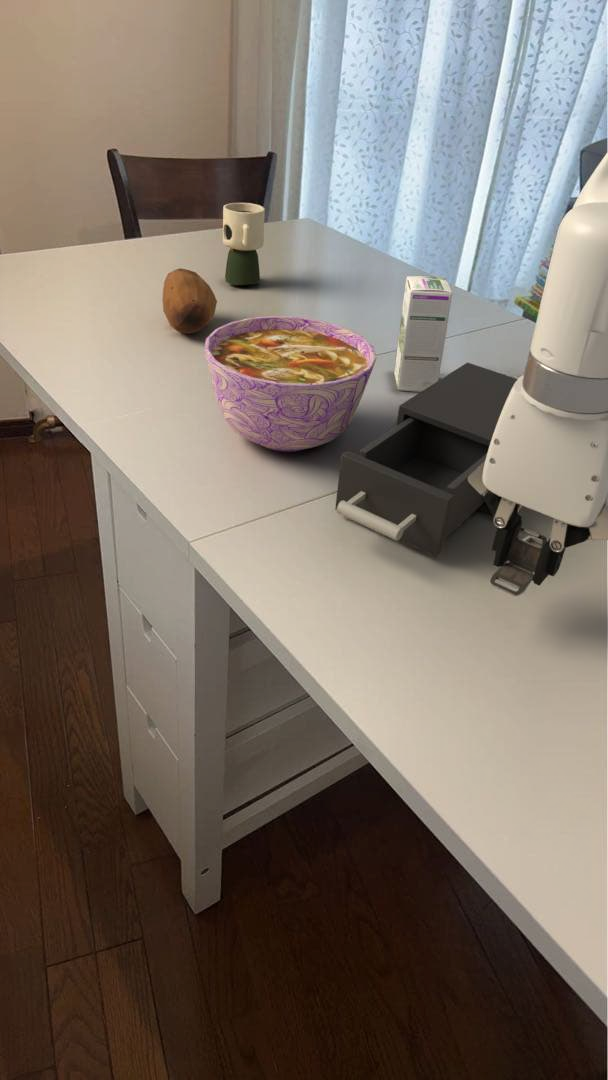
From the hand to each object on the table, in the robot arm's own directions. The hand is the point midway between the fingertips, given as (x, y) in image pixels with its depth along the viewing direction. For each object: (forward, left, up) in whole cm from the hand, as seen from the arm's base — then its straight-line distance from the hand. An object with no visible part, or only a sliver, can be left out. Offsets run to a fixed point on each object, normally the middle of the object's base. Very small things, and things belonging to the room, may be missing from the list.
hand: (522, 566), depth 71 cm
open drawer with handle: (+15, -8, -5) cm, 18 cm away
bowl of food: (+36, -12, -6) cm, 39 cm away
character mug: (+76, -51, -6) cm, 92 cm away
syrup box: (+32, -37, -6) cm, 50 cm away
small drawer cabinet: (+15, -22, -6) cm, 28 cm away
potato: (+68, -29, -6) cm, 75 cm away
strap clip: (0, 0, -1) cm, 1 cm away
